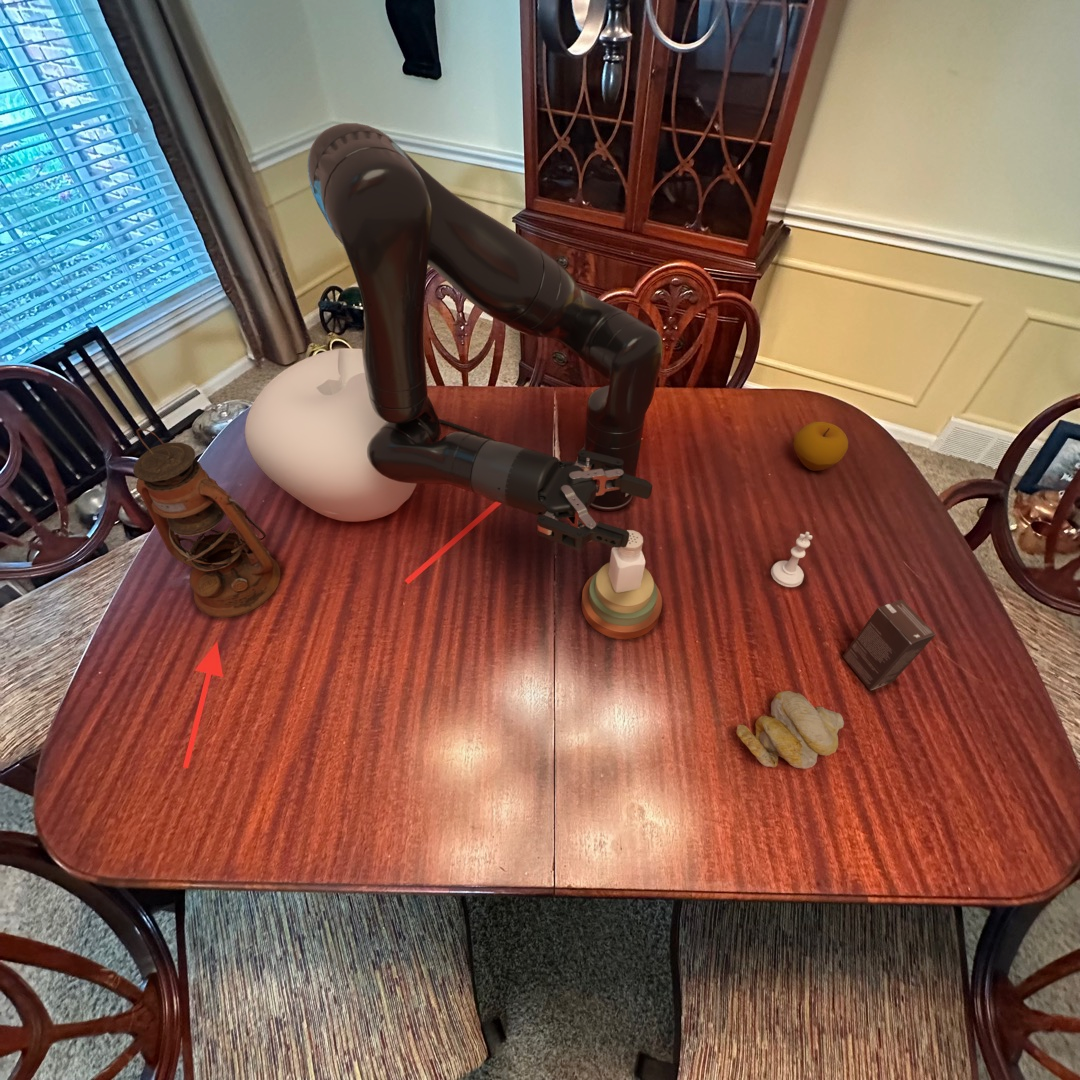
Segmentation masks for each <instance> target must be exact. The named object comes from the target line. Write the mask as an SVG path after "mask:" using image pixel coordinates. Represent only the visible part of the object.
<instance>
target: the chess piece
mask: <svg viewBox="0 0 1080 1080" xmlns="http://www.w3.org/2000/svg"><path fill="white" fill-rule="evenodd" d="M812 539H813V535H810V531H805V533H799V536H798V537H797V538H796V540H795V546H793V547H792V548H791V549H790V554H791V557H790V558H789V559H788V560H779V561H777V562H775V563H774V564H773V565H772V567H771V569H770V574H771V577H772V579H773V580H774V581H775V583H777V584H779V585H781V586H783V587H786V588H796V587H799V586H800V585H801V584H802V583H803V581H804V578H805V574H804V571H803V569H802V568H801V567H800V565H798V564H799V560H800V559H803V558H804V557H805V556H806V549H808V548H809V547H810V546H811V541H810V540H812Z"/></svg>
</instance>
